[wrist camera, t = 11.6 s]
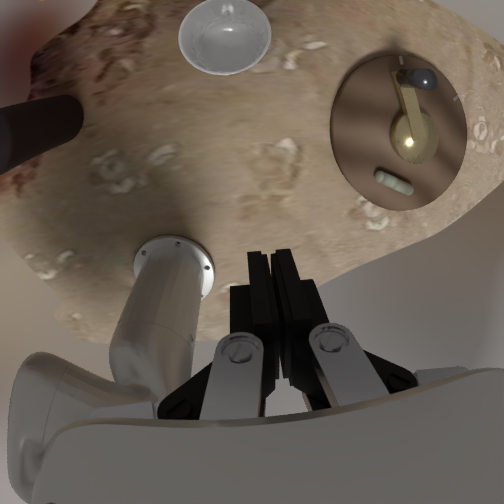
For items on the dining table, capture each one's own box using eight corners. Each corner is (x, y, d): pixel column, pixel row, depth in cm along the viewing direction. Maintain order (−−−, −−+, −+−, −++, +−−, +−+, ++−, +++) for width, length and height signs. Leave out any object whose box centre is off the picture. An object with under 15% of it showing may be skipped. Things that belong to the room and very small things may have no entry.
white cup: (244, 11, 25) (246, -16, 16) (273, 63, 28) (286, 53, 20) (184, 39, 26) (163, 21, 18) (213, 90, 30) (202, 90, 21)
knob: (435, 153, 32) (467, 169, 26) (396, 167, 33) (425, 186, 27) (414, 64, 26) (448, 65, 20) (370, 74, 27) (400, 73, 21)
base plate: (425, 222, 40) (437, 233, 37) (305, 177, 36) (312, 186, 33) (474, 104, 29) (488, 108, 26) (359, 28, 25) (370, 23, 22)
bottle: (75, 148, 32) (-25, 208, 15) (42, 133, 30) (-60, 183, 13) (91, 102, 29) (-19, 132, 12) (55, 89, 27) (-55, 115, 10)
